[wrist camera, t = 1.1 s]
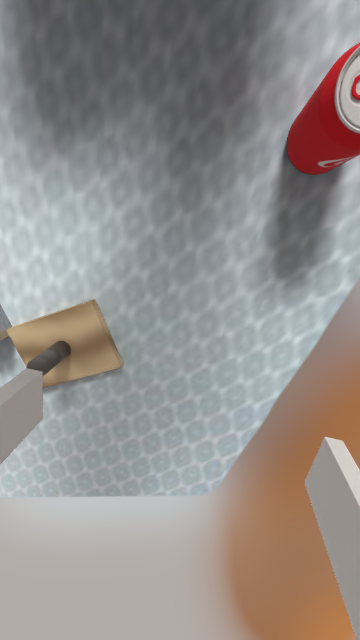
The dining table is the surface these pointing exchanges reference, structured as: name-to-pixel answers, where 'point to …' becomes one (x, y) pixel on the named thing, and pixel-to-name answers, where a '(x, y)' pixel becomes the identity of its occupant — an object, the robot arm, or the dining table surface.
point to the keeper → (67, 344)
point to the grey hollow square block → (3, 325)
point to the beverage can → (329, 120)
